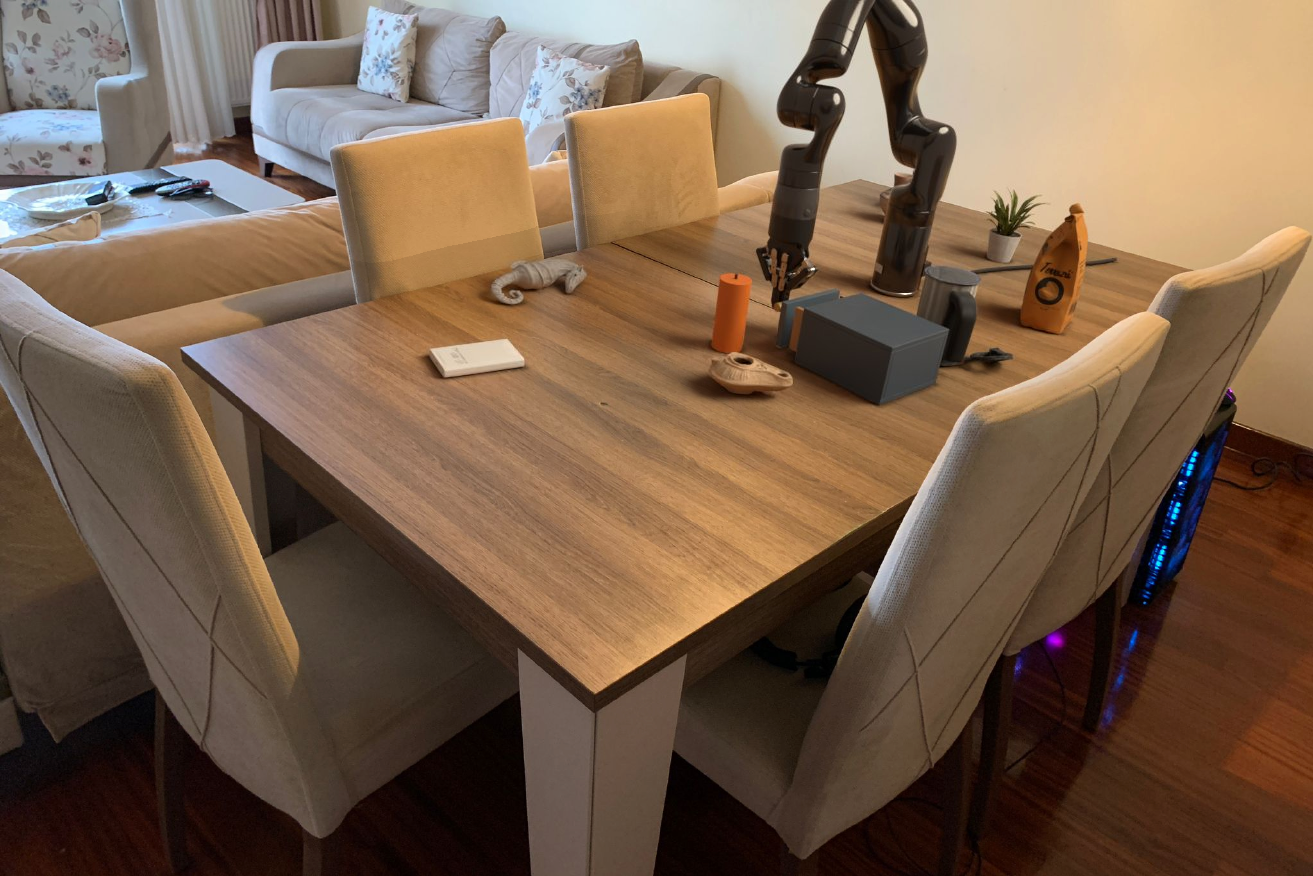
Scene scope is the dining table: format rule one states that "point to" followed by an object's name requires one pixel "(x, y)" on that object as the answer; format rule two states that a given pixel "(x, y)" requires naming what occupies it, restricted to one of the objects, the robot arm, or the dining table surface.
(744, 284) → the candle
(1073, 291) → the coffee package
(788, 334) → the drawer
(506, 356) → the hard drive
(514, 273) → the seahorse
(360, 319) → the dining table surface
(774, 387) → the pottery oil lamp
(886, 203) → the pottery
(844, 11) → the robot arm
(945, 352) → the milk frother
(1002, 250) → the house plant
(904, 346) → the cabinet
